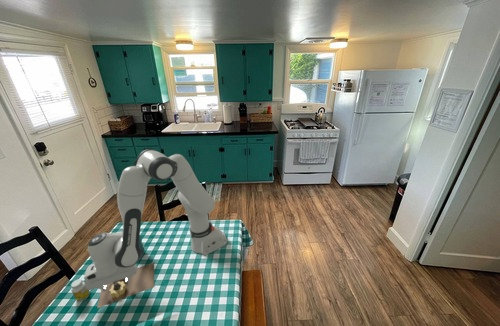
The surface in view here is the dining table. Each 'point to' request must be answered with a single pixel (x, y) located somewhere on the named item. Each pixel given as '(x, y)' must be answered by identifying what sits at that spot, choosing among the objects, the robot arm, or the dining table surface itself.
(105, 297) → the gear board
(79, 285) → the supplement bottle
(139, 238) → the beverage bottle
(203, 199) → the robot arm
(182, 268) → the dining table surface
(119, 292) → the loose gear
